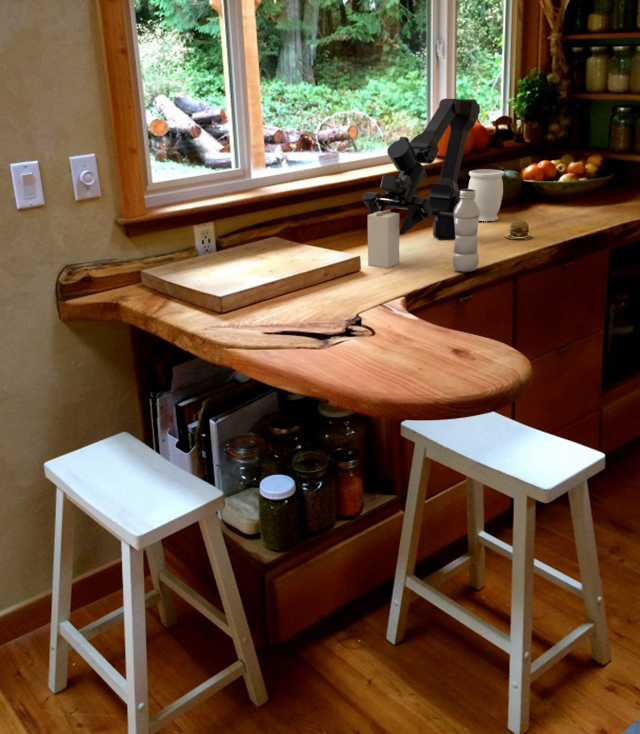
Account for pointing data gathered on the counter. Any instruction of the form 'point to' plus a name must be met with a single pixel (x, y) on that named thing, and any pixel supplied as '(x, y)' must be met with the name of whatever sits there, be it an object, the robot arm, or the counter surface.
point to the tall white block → (383, 239)
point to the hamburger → (519, 228)
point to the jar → (487, 192)
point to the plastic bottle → (466, 232)
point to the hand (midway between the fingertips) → (385, 232)
